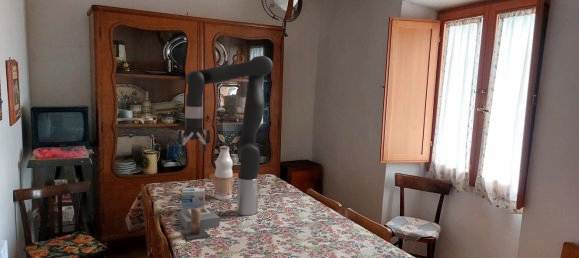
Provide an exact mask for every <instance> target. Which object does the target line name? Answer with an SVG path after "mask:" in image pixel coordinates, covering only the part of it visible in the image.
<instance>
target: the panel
mask: <svg viewBox="0 0 579 258" xmlns="http://www.w3.org/2000/svg"><path fill="white" fill-rule="evenodd" d="M199 209H200V211H202V212H203V213H200V228H203V229H204V230H205V229H211V228H216V227H220V217H221V216H219V215H218V214H216V212H215V211H213V210H212V209H211V208H210V207H205V206H204V207H203V208H199ZM178 221H179V222H180V224H181V225H182V227H183V228H184V229H185V231H186V230H191V209H187V210H186V211H181V210H180V211H179V210H178Z"/></svg>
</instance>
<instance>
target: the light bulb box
mask: <svg viewBox="0 0 579 258" xmlns="http://www.w3.org/2000/svg"><path fill="white" fill-rule="evenodd" d="M205 194H206V192H205V187H187V188H186V187H182V190H181V204H180V205H181V207H180V208H181V210H180V211H186V210H187V209H193V208H203V207H205V200H206V199H205V197H206V195H205Z"/></svg>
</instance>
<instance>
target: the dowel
mask: <svg viewBox="0 0 579 258" xmlns="http://www.w3.org/2000/svg"><path fill="white" fill-rule="evenodd" d="M191 234H192V235H198V234H200V209H199V208H193V209H191Z"/></svg>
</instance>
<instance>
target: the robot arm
mask: <svg viewBox="0 0 579 258" xmlns="http://www.w3.org/2000/svg"><path fill="white" fill-rule="evenodd" d="M273 66H274V65H273V61H272V60H271V58H269V57H267V56H265V55H257V56H254V57H252V58H251V59H250V60H249V61H244V62H239V63H233V64H224V65H219V66H213V67H209V68H204V69H199V70H194V71H193V70H192V71H189V72H188V73H187V74H186V75H185V78H184V79H185V83H186V85H187V94H186V96H185V97H186V98H185V110H184V112H185V114H184V116H185V117H184V119H185V120H184V130H182V129H178V130H177V133H176V144H178V145H180V152H181V153H182V154H183V155H184V154H186V144H187V143H188V142H189V140H190V141H193V140H196V141H197V140H199V141H200V142H201V148H200V149H201V150H200V151H201V153H202V154H203V153H205V152H206V150H207V149H206V145H207V144H209V143H211V133H210V132H211V131H210V129H203V125H204V124H203V123H204V119H203V118H204V113H203V112H204V111H203V109H204V108H203V104H204V103H203V101H204V100H203V96H204V89H205V85H209V84H219V83H223V82H226V81H227V82H228V81H231V80H235V79H240V78H244V77H248V82H247V89H246V95H245V96H246V97H245V102H244V108H243V116H242V117H243V119H242V126H241V135H240V139H239V143H238V147H237V158H238V159H239V161H240V169H239V171H238V173H237V179H238V180H237V195H236V196H237V198H236V200H237V201H236V203H237V204H236V214H238V215H240V216H253V215H255V214H258V213H259V212H258V211H259V193H258V175H259V172H260V163H261V153H260V150H259V148H258V147H256V139H257V138H256V136H257V133H258V130H259V128H260V126H261V123H262V121H263V117H264V112H265V111H264V110H265V98H264V89H263V86H264V79H265V76H267V75H269V74H270V73H271V72H272V70H273ZM203 134H204V136H205V138H204V137H203V136H202V135H203ZM183 135H184V138H183V139H182V136H183Z"/></svg>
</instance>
